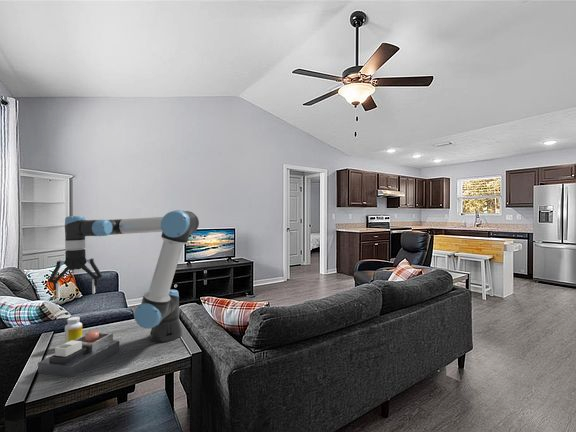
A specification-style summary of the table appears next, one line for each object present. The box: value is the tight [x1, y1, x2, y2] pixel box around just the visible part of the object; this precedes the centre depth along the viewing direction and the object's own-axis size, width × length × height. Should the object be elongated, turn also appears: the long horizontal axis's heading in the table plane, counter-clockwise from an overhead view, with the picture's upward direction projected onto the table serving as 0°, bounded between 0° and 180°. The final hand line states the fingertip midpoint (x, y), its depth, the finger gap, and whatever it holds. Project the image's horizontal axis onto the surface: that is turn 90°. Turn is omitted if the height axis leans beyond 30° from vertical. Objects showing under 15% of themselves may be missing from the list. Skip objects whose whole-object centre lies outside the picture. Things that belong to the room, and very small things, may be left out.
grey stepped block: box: [37, 331, 120, 378], centre depth 122 cm, size 16×23×8 cm
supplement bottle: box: [64, 316, 83, 344], centre depth 135 cm, size 7×7×13 cm
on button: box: [54, 340, 82, 357], centre depth 116 cm, size 5×7×3 cm
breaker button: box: [84, 330, 100, 342], centre depth 127 cm, size 5×5×3 cm
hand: (76, 295), depth 134 cm, fingers open, 13 cm apart
